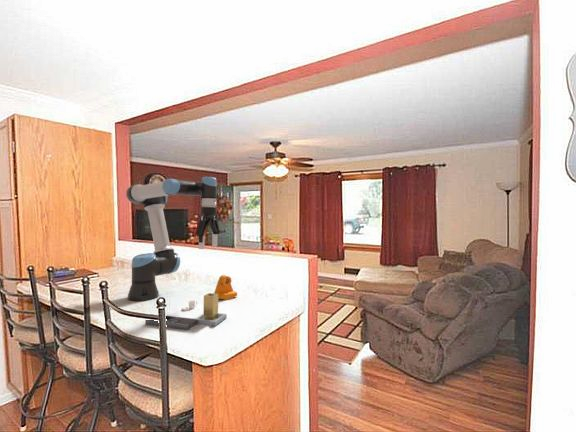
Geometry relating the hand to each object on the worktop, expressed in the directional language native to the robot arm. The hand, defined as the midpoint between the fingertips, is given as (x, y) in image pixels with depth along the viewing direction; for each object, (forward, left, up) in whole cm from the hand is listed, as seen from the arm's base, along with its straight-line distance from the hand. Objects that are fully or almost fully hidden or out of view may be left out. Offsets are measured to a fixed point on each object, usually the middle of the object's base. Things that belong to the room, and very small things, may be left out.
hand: (208, 247), depth 158 cm
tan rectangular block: (+15, -24, -28) cm, 40 cm away
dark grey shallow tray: (+2, -33, -29) cm, 44 cm away
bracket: (+5, +11, -29) cm, 31 cm away
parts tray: (+15, -24, -29) cm, 40 cm away
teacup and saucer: (-5, -12, -29) cm, 32 cm away
